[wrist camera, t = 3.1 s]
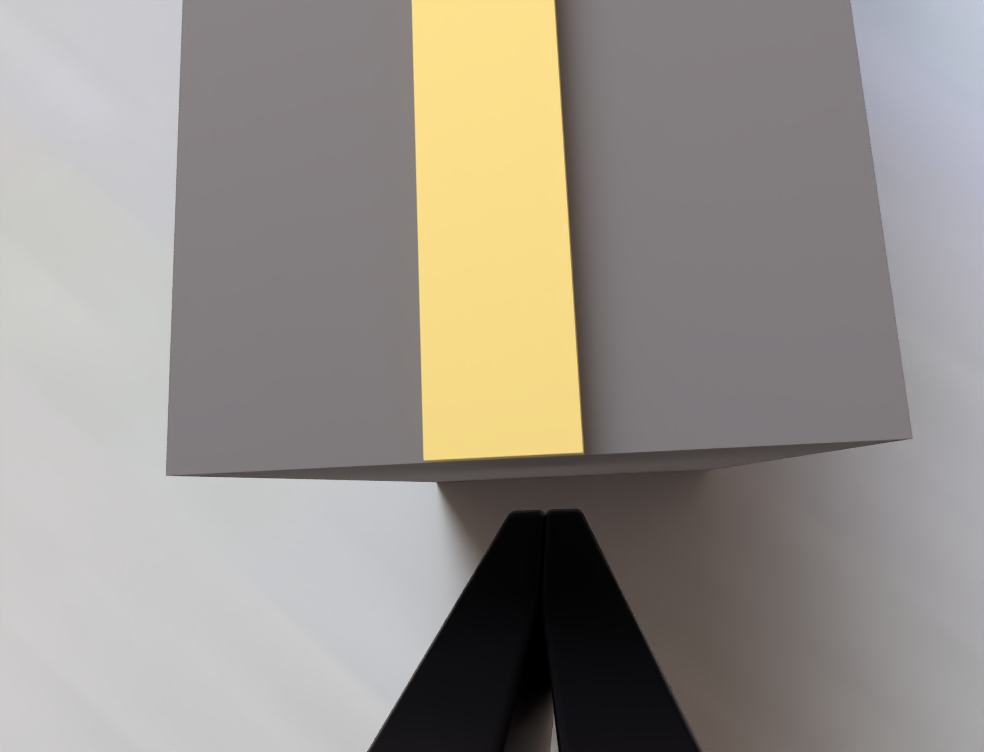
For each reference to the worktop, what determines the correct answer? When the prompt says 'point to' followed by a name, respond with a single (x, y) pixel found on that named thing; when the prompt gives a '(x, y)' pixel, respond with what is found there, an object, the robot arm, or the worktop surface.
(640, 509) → the worktop surface
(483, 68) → the grey rectangular box
